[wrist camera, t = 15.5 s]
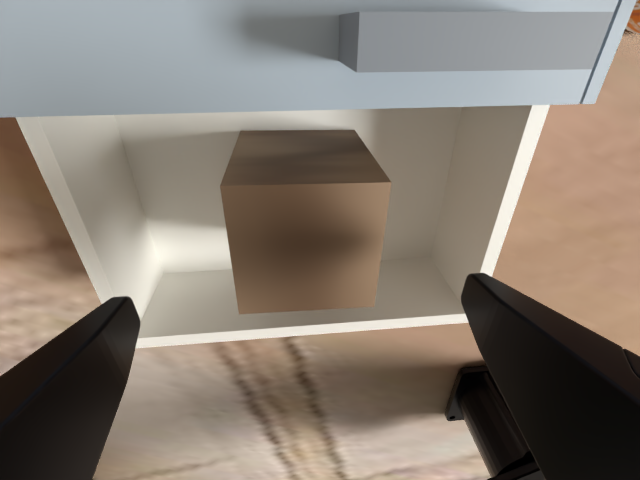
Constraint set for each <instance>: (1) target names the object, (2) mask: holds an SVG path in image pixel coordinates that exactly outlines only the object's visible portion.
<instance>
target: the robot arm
mask: <svg viewBox="0 0 640 480" xmlns="http://www.w3.org/2000/svg"><path fill="white" fill-rule="evenodd" d="M461 304H462V306H463V309H464V312H465V314H466V317H467V319H468V322H469V325H470V327H471V330H472V333H473V335H474V338H475V340H476V343H477V345H478V348H479V350H480V353H481V355H482V357H483V359H484V361H485V363H486V365H487V366H482V367H471V368H464V369H462V370H460V371H459V373H458V376H457V379H456V382H455V385H454V388H453V391H452V394H451V397H450V400H449V403H448V406H447V409H446V412H445V416H446V419H447V420H448V421H455V420H465V422H466V424H467V426H468V428H469V431H470V433H471V435H472V437H473V439H474V441H475V443H476V446H477V448H478V450H479V452H480V454H481V456H482V458H483V461H484V463H485V465H486V467H487V469H488V471H489V473H490V476H491V478H489V479H487V480H640V356H638V355H636V354H634V353H632V352H630V351H629V350H627V349H622V347H621V346H619V345H617V344H615V343H614V342H612V341H610V340H608V339H606V338H604V337H602V336H601V335H599V334H597V333H595V332H593V331H591V330H589V329H588V328H586V327H584V326H582V325H580V324H578V323H576V322H575V321H573V320H571V319H569V318H567V317H565V316H563V315H561V314H560V313H558V312H556V311H554V310H552V309H550V308H548V307H547V306H545V305H543V304H541V303H539V302H537V301H535V300H534V299H532V298H530V297H528V296H526V295H524V294H522V293H521V292H519V291H517V290H515V289H513V288H511V287H509V286H508V285H506V284H504V283H502V282H500V281H498V280H496V279H495V278H493V277H491V276H489V275H487V274H485V273H471V274H468V276H467V277H466V280H465V284H464V287H463V290H462V294H461ZM139 331H140V318H139V315H138V313H137V310H136V308H135V305H134V303H133V300H132V299H131V298H130V297H129V296H119V297H112V298H110V299H109V300H107V301H106V302H104V303H103V304H102V305H100V306H99V307H97V308H96V309H94V310H93V311H92V312H90V313H89V314H87V315H86V316H85V317H83V318H82V319H80V320H79V321H78V322H76V323H75V324H73V325H72V326H71V327H69V328H68V329H66V330H65V331H64V332H62V333H61V334H59V335H58V336H56V337H55V338H54V339H52V340H51V341H49V342H48V343H47V344H45V345H44V346H42V347H41V348H40V349H38V350H37V351H35V352H34V353H33V354H31V355H30V356H28V357H27V358H25V359H24V360H23V361H21V362H20V363H18V364H17V365H16V366H14V367H13V368H11V369H10V370H9V371H7V372H6V373H4V374H3V375H2V376H0V480H92V478H93V476H94V473H95V470H96V467H97V465H98V462H99V459H100V456H101V454H102V451H103V448H104V445H105V442H106V440H107V437H108V434H109V431H110V429H111V426H112V423H113V420H114V418H115V415H116V412H117V409H118V407H119V404H120V401H121V398H122V395H123V393H124V390H125V387H126V384H127V380H128V377H129V373H130V368H131V364H132V360H133V356H134V352H135V347H136V343H137V339H138V335H139Z"/></svg>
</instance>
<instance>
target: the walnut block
mask: <svg viewBox="0 0 640 480" xmlns="http://www.w3.org/2000/svg"><path fill="white" fill-rule="evenodd" d="M391 183H392V182H391V181H390V179H389V178H388V177H387V175H386V174H385V172H384V171H383V169H382V168H381V167H380V165H379V164H378V162H377V161H376V159H375V158H374V157H373V155H372V154H371V152H370V151H369V150H368V148H367V147H366V145H365V144H364V142H363V141H362V140H361V138H360V137H359V135H358V134H357V133H356V131H355V130H249V131H240V133H239V136H238V139H237V141H236V144H235V147H234V149H233V152H232V155H231V157H230V160H229V163H228V166H227V168H226V171H225V174H224V176H223V179H222V182H221V184H220V190H221V197H222V203H223V210H224V217H225V224H226V230H227V237H228V244H229V251H230V257H231V264H232V271H233V278H234V285H235V291H236V298H237V305H238V312H239V314H255V313H273V312H291V311H308V310H326V309H344V308H362V307H374V305H375V297H376V290H377V283H378V276H379V269H380V262H381V255H382V247H383V240H384V233H385V226H386V219H387V212H388V205H389V197H390V190H391Z"/></svg>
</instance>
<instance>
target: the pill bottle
mask: <svg viewBox="0 0 640 480" xmlns="http://www.w3.org/2000/svg"><path fill="white" fill-rule="evenodd" d="M625 29H626V30H628V31H630V32H633V33H635V34H639V35H640V0H637V1H636V3H635V6H634V8H633V11H632V13H631V16H630V18H629V20H628V23H627V25H626V28H625Z"/></svg>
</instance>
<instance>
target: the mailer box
mask: <svg viewBox="0 0 640 480" xmlns="http://www.w3.org/2000/svg"><path fill="white" fill-rule="evenodd" d="M549 107H550V105H518V106H475V107H432V108H389V109H346V110H303V111H259V112H216V113H173V114H130V115H87V116H43V117H15V118H16V120H17V122H18V124H19V127H20V129H21V131H22V133H23V135H24V137H25V139H26V142H27V144H28V146H29V148H30V150H31V152H32V155H33V157H34V159H35V161H36V163H37V165H38V168H39V170H40V172H41V174H42V176H43V178H44V181H45V183H46V185H47V187H48V189H49V191H50V193H51V196H52V198H53V200H54V202H55V204H56V206H57V209H58V211H59V213H60V215H61V217H62V219H63V222H64V224H65V226H66V228H67V230H68V232H69V235H70V237H71V239H72V241H73V243H74V245H75V247H76V250H77V252H78V254H79V256H80V258H81V260H82V263H83V265H84V267H85V269H86V271H87V273H88V276H89V278H90V280H91V282H92V284H93V286H94V289H95V291H96V293H97V295H98V297H99V299H100V302H101V304H103V303H104V302H106V301H107V300H109V299H110V298H112V297H119V296H129V297H130V298H131V299H132V300H133V303H134V305H135V308H136V310H137V313H138V315H139V318H140V331H139V335H138V339H137V343H136V347H135V348H146V347H159V346H172V345H185V344H198V343H211V342H223V341H236V340H249V339H262V338H275V337H288V336H301V335H314V334H327V333H339V332H352V331H365V330H378V329H391V328H404V327H417V326H430V325H443V324H456V323H468V319H467V317H466V314H465V312H464V309H463V306H462V304H461V294H462V290H463V287H464V284H465V280H466V277H467V276H468V274H471V273H485V274H487V275H489V276H491V277H492V274H493V271H494V268H495V265H496V262H497V260H498V257H499V254H500V251H501V248H502V245H503V242H504V239H505V236H506V233H507V230H508V227H509V224H510V221H511V218H512V215H513V212H514V210H515V207H516V204H517V201H518V198H519V195H520V192H521V189H522V186H523V183H524V180H525V177H526V174H527V171H528V168H529V165H530V162H531V159H532V157H533V154H534V151H535V148H536V145H537V142H538V139H539V136H540V133H541V130H542V127H543V124H544V121H545V118H546V115H547V112H548V109H549ZM249 130H355V131H356V133H357V134H358V135H359V137H360V138H361V140H362V141H363V142H364V144H365V145H366V147H367V148H368V150H369V151H370V152H371V154H372V155H373V157H374V158H375V159H376V161H377V162H378V164H379V165H380V167H381V168H382V169H383V171H384V172H385V174H386V175H387V177H388V178H389V179H390V181H391V182H392V183H391V190H390V197H389V205H388V212H387V219H386V226H385V233H384V240H383V247H382V255H381V262H380V269H379V276H378V283H377V290H376V297H375V305H374V307H362V308H344V309H326V310H308V311H291V312H273V313H255V314H239V312H238V305H237V298H236V291H235V285H234V278H233V271H232V264H231V257H230V251H229V244H228V237H227V230H226V224H225V217H224V210H223V203H222V197H221V190H220V184H221V182H222V179H223V176H224V174H225V171H226V168H227V166H228V163H229V160H230V157H231V155H232V152H233V149H234V147H235V144H236V141H237V139H238V136H239V133H240V131H249Z"/></svg>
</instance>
